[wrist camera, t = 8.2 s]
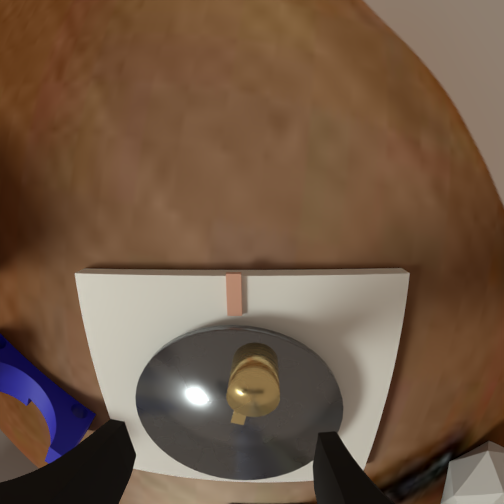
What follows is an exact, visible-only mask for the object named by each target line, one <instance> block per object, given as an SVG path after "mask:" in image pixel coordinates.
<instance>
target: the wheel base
mask: <svg viewBox="0 0 504 504" xmlns="http://www.w3.org/2000/svg"><path fill="white" fill-rule="evenodd" d="M409 275H410V273H409V272H407V271H406V270H404V269H403V268H376V269H309V270H157V269H91V268H84V269H82V270H80V271H78V272H76V273H75V278H76V284H77V290H78V296H79V302H80V307H81V312H82V317H83V322H84V327H85V331H86V336H87V340H88V344H89V348H90V352H91V356H92V360H93V364H94V368H95V371H96V375H97V378H98V382H99V385H100V388H101V392H102V395H103V398H104V401H105V404H106V407H107V410H108V413H109V416H110V419H114V420H119V421H124V422H125V424H126V427H127V430H128V433H129V436H130V439H131V442H132V444H133V447H134V450H135V453H136V459H135V463H134V466H133V469H138V470H143V471H148V472H154V473H160V474H166V475H172V476H179V477H187V478H196V479H206V480H217V481H234V482H296V481H313V480H314V479H313V461H312V462H310V463H309V464H307V465H305V466H303V467H301V468H300V469H298V470H295V471H293V472H290V473H287V474H284V475H281V476H277V477H272V478H267V479H259V480H232V479H225V478H219V477H215V476H210V475H207V474H204V473H201V472H198V471H196V470H193V469H191V468H189V467H187V466H185V465H183V464H181V463H179V462H177V461H176V460H174V459H173V458H171V457H170V456H169V455H167V454H166V453H165V452H164V451H163V450H161V449H160V448H159V447H158V446H157V445H156V444H155V443H154V442H153V440H152V439H151V438H150V436H149V435H148V434H147V432H146V431H145V429H144V427H143V425H142V423H141V421H140V418H139V416H138V412H137V408H136V398H135V395H136V387H137V384H138V380H139V377H140V375H141V373H142V372H143V370H144V368H145V366H146V365H147V363H148V361H149V360H150V359H151V358H152V356H153V355H154V354H155V353H156V352H157V351H158V350H159V349H160V348H161V347H162V346H164V345H165V344H166V343H168V342H170V341H171V340H173V339H174V338H176V337H178V336H181V335H183V334H185V333H187V332H190V331H194V330H197V329H200V328H206V327H211V326H220V325H245V326H253V327H259V328H264V329H268V330H272V331H275V332H279V333H281V334H284V335H286V336H289V337H291V338H293V339H295V340H297V341H299V342H301V343H302V344H304V345H306V346H307V347H309V348H310V349H311V350H313V351H314V352H315V353H316V354H318V355H319V356H320V357H321V358H322V359H323V360H324V361H325V363H326V364H327V365H328V367H329V368H330V369H331V371H332V372H333V374H334V376H335V378H336V380H337V383H338V386H339V389H340V392H341V395H342V399H343V419H342V422H341V426H340V429H339V431H338V435H339V437H340V438H341V440H342V442H343V443H344V445H345V446H346V448H347V449H348V451H349V452H350V454H351V455H352V457H353V458H354V459H355V461H356V462H357V463H358V465H359V466H360V467H361V469H362V470H364V468H365V465H366V462H367V459H368V457H369V454H370V451H371V448H372V445H373V442H374V439H375V436H376V432H377V429H378V426H379V423H380V419H381V416H382V412H383V409H384V405H385V402H386V398H387V394H388V390H389V386H390V382H391V378H392V374H393V369H394V365H395V360H396V356H397V351H398V346H399V341H400V336H401V330H402V324H403V318H404V312H405V306H406V299H407V292H408V284H409Z"/></svg>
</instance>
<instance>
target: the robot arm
mask: <svg viewBox="0 0 504 504" xmlns="http://www.w3.org/2000/svg"><path fill="white" fill-rule="evenodd" d="M135 459H136V453H135V450H134V447H133V444H132V442H131V439H130V436H129V433H128V430H127V427H126V424H125V422H124V421H119V420H114V419H110V420H109V421H108V422H106V423H105V424H104V425H103V426H101V427H100V428H99V429H98V430H96V431H95V432H94V433H93V434H91V435H90V436H89V437H87V438H86V439H85V440H83V441H82V442H81V443H80V444H78V445H77V446H75V447H74V448H73V449H71V450H70V451H68V452H67V453H65V454H64V455H62V456H61V457H59V458H58V459H56V460H54V461H53V462H51V463H49V464H47V465H46V466H44V467H42V468H40V469H38V470H35V471H34V472H31V473H29V474H26V475H23V476H21V477H18V478H15V479H12V480H8V481H5V482H1V483H0V504H119V501H120V499H121V497H122V495H123V492H124V490H125V488H126V486H127V483H128V481H129V479H130V476H131V473H132V470H133V466H134V463H135ZM313 479H314V489H315V494H316V499H317V504H395V503H394V502H393V501H391V500H390V499H389V498H388V497H387V496H386V495H385V494H384V493H383V492H382V491H381V490H380V489H379V488H378V487H377V486H376V485H375V484H374V483H373V482H372V481H371V479H370V478H369V477H368V476H367V475H366V474H365V472H364V471H363V470H362V469H361V467H360V466H359V465H358V463H357V462H356V461H355V459H354V458H353V457H352V455H351V454H350V452H349V451H348V449H347V448H346V446H345V445H344V443H343V442H342V440H341V438H340V437H339V435H338V433H337V432H335V431H332V432H319V433H318V438H317V444H316V450H315V455H314V460H313Z"/></svg>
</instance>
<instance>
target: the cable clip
mask: <svg viewBox="0 0 504 504" xmlns="http://www.w3.org/2000/svg"><path fill="white" fill-rule="evenodd" d="M0 392H4V393H6V394H9V395H11V396H13V397H15V398H17V399H18V400H20V401H21V402H23V403H24V404H25V405H28V404H29V403H30V402H31V401H33V402H34V403H35V405H36V406H37V407H38V408H39V410H40V411H41V412H42V414H43V416H44V417H45V419H46V422H47V424H48V427H49V430H50V436H51V445H50V447H49V450H48V453H47V456H46V459H45V461H46V462H47V463H51V462H53V461H54V460H56V459H58V458H59V457H61V456H62V455H64V454H65V453H67V452H68V451H70V450H71V449H73V448H74V447H75V446H77V445H78V444H79V442H80V441H81V439H82V438H83V436H84V435H85V433H86V432H87V430H88V428H89V426H90V424H91V423H92V421H93V419H94V417H95V415H96V414H95V413H93V412H92V411H90V410H89V409H88V408H86V407H85V406H83V405H82V404H81V403H79V402H78V401H77V400H75V399H74V398H73V397H71V396H70V395H69V394H67V393H66V392H65V391H64V390H62V389H61V388H60V387H59V386H57V385H56V384H55V383H54V382H52V381H51V380H50V379H49V378H48V377H46V376H45V375H44V374H43V373H42V372H41V371H39V370H38V369H37V368H36V367H35V366H34V365H33V364H32V363H30V362H29V361H28V360H27V359H26V358H25V357H24V356H23V355H22V354H21V353H20V352H19V351H18V350H16V349H15V348H14V347H13V346H12V345H11V344H10V343H9V342H8V341H7V340H6V339H5V338H4V337H3V336H2V335H1V334H0Z"/></svg>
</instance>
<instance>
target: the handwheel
mask: <svg viewBox="0 0 504 504" xmlns="http://www.w3.org/2000/svg"><path fill="white" fill-rule="evenodd" d="M135 398H136V408H137V412H138V416H139V418H140V421H141V423H142V425H143V427H144V429H145V431H146V432H147V434H148V435H149V436H150V438H151V439H152V440H153V442H154V443H155V444H156V445H157V446H158V447H159V448H160V449H161V450H163V451H164V452H165V453H166V454H167V455H169V456H170V457H171V458H173V459H174V460H176V461H177V462H179V463H181V464H183V465H185V466H187V467H189V468H191V469H193V470H196V471H198V472H201V473H204V474H207V475H210V476H215V477H219V478H225V479H232V480H259V479H267V478H272V477H277V476H281V475H284V474H287V473H290V472H293V471H295V470H298V469H300V468H301V467H303V466H305V465H307V464H309V463H310V462H312V461H313V460H314V455H315V450H316V444H317V438H318V433H319V432H332V431H335V432H337V433H338V431H339V429H340V426H341V422H342V419H343V399H342V395H341V392H340V389H339V386H338V383H337V380H336V378H335V376H334V374H333V372H332V371H331V369H330V368H329V367H328V365H327V364H326V363H325V361H324V360H323V359H322V358H321V357H320V356H319V355H318V354H316V353H315V352H314V351H313V350H311V349H310V348H309V347H307V346H306V345H304V344H302V343H301V342H299V341H297V340H295V339H293V338H291V337H289V336H286V335H284V334H281V333H279V332H275V331H272V330H268V329H264V328H259V327H253V326H245V325H220V326H211V327H206V328H200V329H197V330H194V331H190V332H187V333H185V334H183V335H181V336H178V337H176V338H174V339H173V340H171V341H170V342H168V343H166V344H165V345H164V346H162V347H161V348H160V349H159V350H158V351H157V352H156V353H155V354H154V355H153V356H152V358H151V359H150V360H149V361H148V363H147V365H146V366H145V368H144V370H143V372H142V373H141V375H140V377H139V380H138V384H137V387H136V395H135Z"/></svg>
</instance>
